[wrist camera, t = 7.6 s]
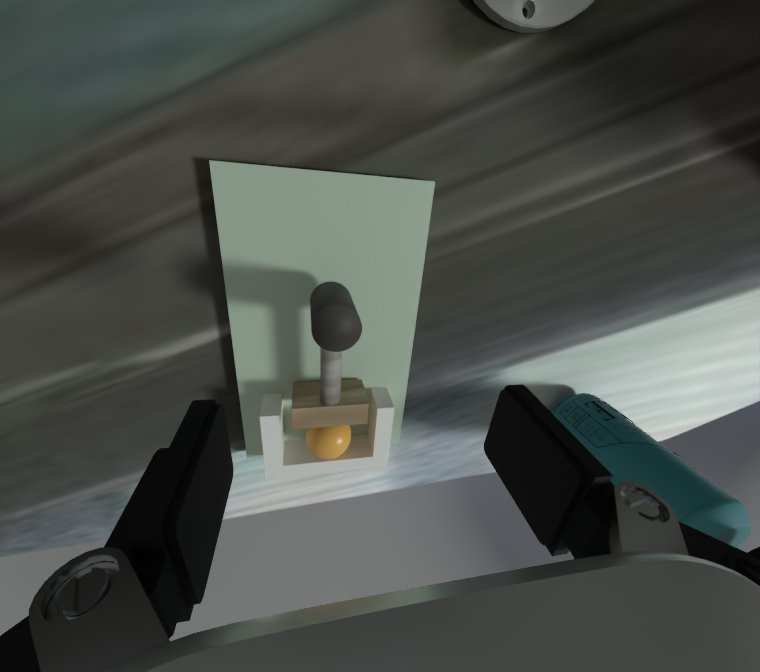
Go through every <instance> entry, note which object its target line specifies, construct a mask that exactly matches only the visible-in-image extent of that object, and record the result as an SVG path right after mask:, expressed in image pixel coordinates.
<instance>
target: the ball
mask: <svg viewBox="0 0 760 672" xmlns="http://www.w3.org/2000/svg"><path fill="white" fill-rule="evenodd" d="M350 441H351V429H350V426H349V425H342V426H330V427H317V428H308V429H307V432H306V442H307V445H308V448H309V449H310V451H311V452H312V453H313V454H314V455H315V456H317V457H319V458H322V459H333V458H336V457H338V456H340V455H341V454H343V453H344V452H345V451H346V449H347V448H348V446H349V444H350Z"/></svg>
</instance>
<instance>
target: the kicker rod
mask: <svg viewBox="0 0 760 672" xmlns="http://www.w3.org/2000/svg"><path fill="white" fill-rule="evenodd" d="M310 312H311V332H312V336H313V339H314V341H315V342H316V343H317V345H319V346H320V381H318V382H297V383H293V392H292V429H304V428H317V427H330V426H342V425H355V424H367V421H368V408H369V403H368V399H367V396H366V392H365V389H364V385H363V382H362V379H360V380H341V366H342V351H345V350H347V349H349V348H351V347H352V346H354V345H355V344H356V343H357V341H358V340H359V338H360V336H361V333H362V323H361V320H360V317H359V315H358V312H357V310H356V307H355V305H354V302H353V300H352V297H351V295H350V293H349V291H348V289H347V288H346V287H345V286H343V285H342V284H340V283H338V282H332V281H329V282H324V283H322V284H320V285H318V286H317V287H316V288H315V289H314V290H313V292H312V294H311V297H310Z"/></svg>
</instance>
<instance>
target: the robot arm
mask: <svg viewBox="0 0 760 672" xmlns="http://www.w3.org/2000/svg"><path fill="white" fill-rule="evenodd" d="M473 1H474V3H475V4H476V5H477V6H478V7H479V8H480V9H481V10H482V11H483V12H484V13H485V14H486V15H487V16H488V17H489V18H490V19H491V20H493V21H494V22H496V23H497V24H499V25H501V26H502V27H504V28H506V29H510V30H513V31H516V32H520V33H539V32H543V31H547V30H550V29H554V28H556V27H558V26H560V25H561V24H563V23H565V22H567V21H569V20H571V19H572V18H574V17H575V16H577V15H578V14H580V13H581V12H582V11H584V10H585V9H587V8H588V7H589V6H590V5H591V4H592V3H593V2H594V1H595V0H473ZM484 451H485V454H486V456H487V457H488V459H489V460H490V462H491V464H492V465H493V467H494V469H495V470H496V472H497V473H498V475H499V477H500V478H501V480H502V482H503V483H504V485H505V486H506V488H507V490H508V491H509V493H510V494H511V496H512V498H513V499H514V501H515V503H516V504H517V506H518V508H519V509H520V511H521V513H522V514H523V516H524V517H525V519H526V521H527V522H528V524H529V526H530V527H531V529H532V530H533V532H534V534H535V535H536V537H537V539H538V540H539V541H540V543H541V544H543V545H545V546H546V547H547V549H548V550H549V552H550V554H551V555H552V556H556V555H561V554H567V553H568V552H569V550H570V552H571V553H572V555H573V556H574V559H573V560H567V561H562V562H556V563H551V564H545V565H539V566H533V567H528V568H522V569H516V570H511V571H506V572H499V573H494V574H488V575H483V576H477V577H472V578H466V579H461V580H455V581H450V582H444V583H439V584H433V585H428V586H422V587H417V588H411V589H406V590H401V591H395V592H390V593H385V594H380V595H374V596H369V597H363V598H358V599H353V600H347V601H343V602H337V603H331V604H326V605H321V606H316V607H310V608H305V609H300V610H295V611H291V612H285V613H281V614H275V615H271V616H266V617H261V618H256V619H252V620H247V621H242V622H237V623H233V624H228V625H225V626H220V627H217V628H213V629H209V630H205V631H201V632H197V633H193V634H191V635H188V636H185V637H182V638H179V639H177V640H173V641H171V642H170V640H169V638H170V637H171V636H172V635H173V634H174V630H175V627H176V623H178V622H184V621H189V620H190V617H191V613H192V610H193V606H194V604H199V603H201V601H202V599H203V596H204V591H205V588H206V584H207V580H208V576H209V572H210V567H211V564H212V560H213V555H214V551H215V547H216V543H217V539H218V535H219V531H220V527H221V523H222V519H223V515H224V511H225V507H226V503H227V499H228V495H229V491H230V487H231V483H232V478H233V462H232V457H231V451H230V445H229V439H228V433H227V427H226V421H225V415H224V409H223V405H222V404H216V401H215V400H214V399H213V400H194V401H193V402H192V403H191V405H190V407H189V409H188V411H187V413H186V415H185V417H184V419H183V421H182V423H181V425H180V427H179V429H178V431H177V433H176V435H175V437H174V439H173V441H172V443H171V445H170V447H169V448H161V449H159V450H157V451H156V453H155V454H154V456H153V458H152V459H151V461H150V463H149V465H148V467H147V469H146V470H145V472H144V474H143V476H142V478H141V480H140V482H139V483H138V485H137V487H136V489H135V491H134V493H133V495H132V496H131V498H130V500H129V502H128V504H127V506H126V507H125V509H124V511H123V513H122V515H121V517H120V519H119V520H118V522H117V524H116V526H115V528H114V530H113V532H112V533H111V535H110V537H109V539H108V541H107V543H106V544H105V546H104V548H98V549H94V550H91V551H88V552H85V553H83V554H81V555H79V556H77V557H75V558H74V559H72V560H70V561H69V562H67V563H66V564H65V565H63V566H62V567H60V568H59V569H58V570H56V571H55V572H54V573H53V574H52V575H51V576H50V577H49V578H48V579H47V580H46V581H45V582H44V584H43V585H42V586H41V588H40V589H39V591H38V592H37V593H36V595H35V596H34V599H33V601H32V603H31V606H30V608H29V616H27V617H26V618H25V619H23V620H22V621H21V622H20V623H18V624H16V625H15V626H14V627H12V628H11V629H9V630H8V631H7V632H5V633H4V634H2V635H1V636H0V672H760V560H759V559H757V558H756V557H754V556H752V555H750V554H748V553H746V552H744V551H742V550H740V549H738V548H735V547H733V546H731V545H729V544H727V543H725V542H723V541H720V540H718V539H716V538H714V537H712V536H710V535H707V534H705V533H703V532H701V531H699V530H697V529H694V528H692V527H690V526H688V525H686V524H684V523H681V522H679V521H678V519H677V516H676V514H675V512H674V510H673V508H672V507H671V506H670V505H669V504H668V502H667V501H666V500H664V499H663V498H662V497H661V496H660V495H659V494H657V493H656V492H654V491H652V490H651V489H649V488H647V487H645V486H643V485H641V484H638V483H635V482H632V481H621V482H618V483H617V484H616V485H615V486H614V485H613V483H612V482H611V481H610V480H611V478H612V477H613V475H612V474H611V473H610V472H609V471H608V470H607V469H606V468H605V467H604V466H603V465H602V464H601V463H600V462H599V461H598V460H597V459H596V458H595V457H594V455H593V454H592V453H591V452H590V451H589V450H588V449H587V448H586V447H585V446H584V445H583V444H582V443H581V442H580V441H579V440H578V439H577V438H576V437H575V436H574V435H573V434H572V433H571V432H570V431H569V430H568V429H567V428H566V427H565V426H564V425H563V424H562V423H561V422H560V421H559V420H558V419H557V418H556V417H555V416H554V415H553V414H552V413H551V412H550V411H549V410H548V409H547V408H546V407H545V406H544V405H543V404H542V403H541V402H540V401H539V400H538V399H537V398H536V397H535V396H534V395H533V394H532V393H531V392H530V391H529V390H528V388H527V387H525V386H524V385H508V386H506V387H505V388H504V390H502V391H501V392H500V395H499V398H498V401H497V404H496V407H495V411H494V414H493V417H492V420H491V423H490V427H489V430H488V433H487V436H486V440H485V443H484Z"/></svg>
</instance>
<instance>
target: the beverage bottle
mask: <svg viewBox="0 0 760 672" xmlns="http://www.w3.org/2000/svg"><path fill="white" fill-rule="evenodd" d="M609 406H610V407H609ZM617 412H618V413H617ZM620 414H621V413H619V411H617V410H616V409H615V408H612V407H611V405H608V404H607V403H606V402H604V401H603V402H602V401H601V400H600V398H597V397H595V396H594V395H590V394H585V393H583V394H577V395H574V396H572V397H570V398H568V399H566V400H565V401H564V402H562V403H561V404H560V405H559V406H558V407H557V409H556V410H555V411H554V413H553V415H554V416H555V417H556V418H557V419H558V420H559V421H560V422H561V423H562V424H563V425H564V426H565V427H566V428H567V429H568V430H569V431H570V432H571V433H572V434H573V435H574V436H575V437H576V438H577V439H578V440H579V441H580V442H581V443H582V444H583V445H584V446H585V447H586V448H587V449H588V450H589V451H590V452H591V453H592V454H593V455H594V457H595V458H596V459H597V460H598V461H599V462H600V463H601V464H602V465H603V466H604V467H605V468H606V469H607V470H608V471H609V472H610V473H611V474H612V475H613V477H612V478H611V480H610V481H611V482H612V483H613V485H614V486H615V485H616V484H617V483H618V482H621V481H632V482H635V483H638V484H641V485H643V486H645V487H647V488H649V489H651V490H652V491H654V492H656V493H657V494H659V495H660V496H661V497H662V498H663V499H664V500H666V501H667V502H668V504H669V505H670V506H671V507H672V508H673V510H674V512H675V514H676V516H677V519H678V521H679V522H681V523H684V524H686V525H688V526H690V527H692V528H694V529H697V530H699V531H701V532H703V533H705V534H707V535H710V536H712V537H714V538H716V539H718V540H720V541H723V542H725V543H727V544H729V545H731V546H733V547H735V548H737V547H738V546H739V545H740V544H741V543H742V542H744V540H745V539H746V538H747V537H748V535H749V533H750V523H749V519H748V515H747V511H746V508H745V507H744V505H743V504H742V503H741V502H739V501H738V500H736V499H735V498H732V497H731V496H730V495H728V494H727V493H726V492H724V491H723V490H721V489H720V488H719V487H717V486H716V485H715V484H713V483H712V482H710V481H709V480H708V479H706V478H705V477H704V476H702V475H701V474H699V473H698V472H697V471H696V470H695V469H693V468H691V467H690V466H689V465H687V464H686V463H685V462H684V461H683V460H681V459H680V458H679V457H677V456H676V455H675V454H676V453H672V452H671V451H669V450H668V449H666V448H665V447H664V446H662V445H661V444H660V443H658V442H657V441H656V440H654V439H653V438H652V437H650V436H649V435H647V434H646V432H643V431H642V430H641V429H639V428H640V427H637V426H635V424H634V423H633V422H632V421H631V420H630V421H631V422H632V423H631V422H630V421H628V420H629V419H628V418H627V417H625V416H624V415H623V414H621V415H620ZM626 418H627V419H628V420H627V419H626ZM648 434H649V433H648ZM748 554H750V555H752V556H754V557H756V558H757V559H759V560H760V547H758V548H756V549H753V550H751V551H750V552H748Z"/></svg>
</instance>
